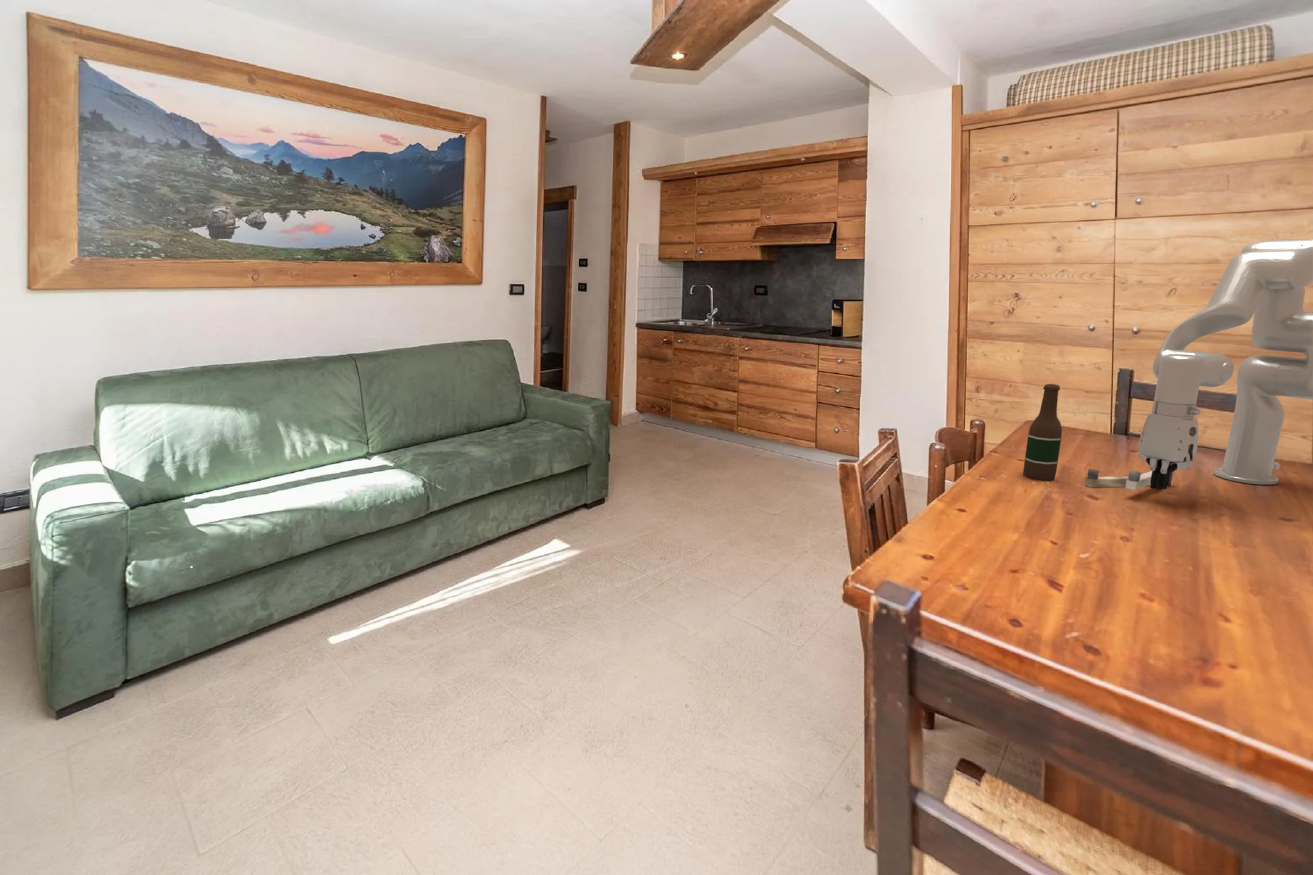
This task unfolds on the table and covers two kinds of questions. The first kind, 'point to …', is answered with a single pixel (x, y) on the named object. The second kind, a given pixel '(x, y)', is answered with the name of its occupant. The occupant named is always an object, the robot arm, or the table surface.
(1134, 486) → the tongs moving jaw
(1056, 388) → the beer bottle
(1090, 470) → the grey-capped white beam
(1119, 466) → the table surface
